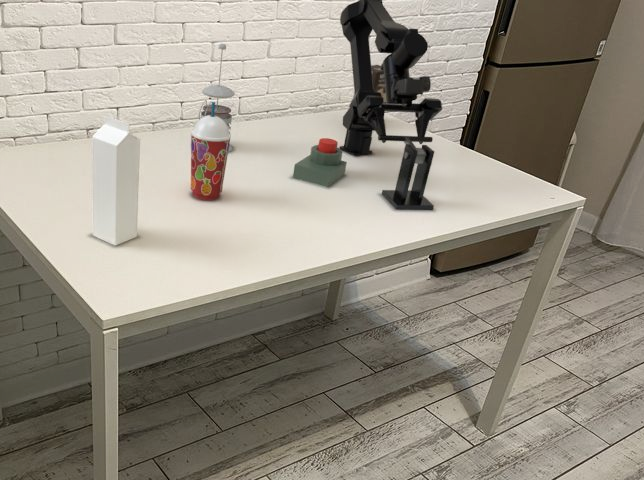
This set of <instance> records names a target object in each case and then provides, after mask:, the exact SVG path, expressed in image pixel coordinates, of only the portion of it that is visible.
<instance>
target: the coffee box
mask: <svg viewBox="0 0 644 480" xmlns="http://www.w3.org/2000/svg"><path fill="white" fill-rule="evenodd" d="M380 68H381V65H379V64H373V65H372V64H371V69H372V79H373V89H374V91H375V92H380V93H381V95H382V97H383V101H384V102H387V101H386V93H383V88H384V87H385V79H384V70H381V69H380ZM354 95H355V91H353V96H352V98H353V97H354Z"/></svg>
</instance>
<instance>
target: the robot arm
mask: <svg viewBox="0 0 644 480" xmlns="http://www.w3.org/2000/svg"><path fill="white" fill-rule="evenodd" d="M339 22H340V23H339V24H340V25H341V30H342V35H343V37H345V38H346V40H347V42H348V43H349V45H350V55H351V67H352V68H351V69H352V79H353V90H354V91H355V95H354V94H353V96H354V97H353V96H352V98H351V101H350V103H349V107H348V109H347V110H346V112H345V113H344V115H343V116H342V126H343V127H344V128H345V129H346V133H345V138H344V144H343V145H340V146H339V148H338V149H340V150H342V151H344V152H346V153H348V154H350V155H352V156H356V157H358V156H364V155H370V154H373V150H371V145H372V141H373V137H372V135H373V132H375V133H376V134H377V137H378V136H379V135H387V131H386V122H385V113H386V112H392V113H393V112H394V113H395V112H397V113H398V112H399V113H414V115H415V118H416V119H415V120H414V123H415V129H416V136H420V137H426V134H427V130H428V126H429V123H430V121H431V120H433V119H434V118H435V117H437V115H438V114H440V112H441V111H443V103H442V101H441V99H439V98H429V97H428V98H427V97H426V98H425V97H424V99H423V100H422V101H420V103H413V101H416V100H417V99H418V95H420V96H423V95H424V93H426V92H430V91H431V86H432V85H431V84H432V82H431V77H430V76H427V75H422V76H420V77H419V78H413V77H411V76H410V69H412V68H413V67H415V65H416V64H417V63H418V62H419V61H420V60H421V59H422V58H423V56H425V54H426V53H427V51H428V48H429V44H428V42H427V40H426V38H425V37H424V36H423V35H422V34H420V33H419V29H418V28H413V27H412V28H411V27H410V28H409V27H407V26H406V25H404V24H401V23H398V22H396V21H395V20H394V19H393V18H392V16H391V14H390V13H389V12H388V10H387V8H386V7H385V5H384V4H383V0H357V1H355V2H352V3H349V4H348V5H347V6H345V7H344V9H343V10H342V11H341V13H340V18H339ZM372 32H374V33H375V39H374V44H375V47H376V49H377V52H378V53H379V54H387V56H386V57H385V58H384V59H383V61H382V63H381V65H380V66H381V68H380V69H381V70H384V79H385V87H384V88H383V93H386V101H387V102H384V101H383V97H382V95H381V93H380V92H375V91H374V89H373V79H372V69H371V65H372V59H371V49H370V48H371V47H370V35H371V33H372ZM354 91H353V92H354ZM381 142H382V144H386V142H387V141H381ZM418 143H419V145H423V143H424V142H418Z"/></svg>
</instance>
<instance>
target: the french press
mask: <svg viewBox="0 0 644 480" xmlns="http://www.w3.org/2000/svg"><path fill="white" fill-rule="evenodd" d="M218 49H219V50H221V53H220V63H219V64H220V66H219V77H218V84H213V85H212V84H211V85H208V86H206V87H204V88H203V89H202V90H201V92H202V94H203V96H206V97H210V98H214V99H217V100H216V104H215V111H214V115H215V116H217V117H219V118H221V119H222V120H223V121H224V122H225V123H226V125H227V126H228V129H229V132H230V133H231V126H230V125H232V118H233V115H232V114H230V113H231V112H232V109H231V108H230V107H228V106H225V105H220V104H219V99H229V98H233V97H234V96H235V94H236V93H235V92H234V91H233V90H232V89H231V88H229V87H227V86H226V85H221V75H222V74H221V73H222V61H223V51H224V50H227V45H226V44H225V43H219V45H218ZM212 102H213V101H210V102H209V103H208V100H207V99H205V100H204V101H203V102H202V104H201V105H200V109H199V112H198V120H200V119H201V118H202V117H204V116H208V115H211V109H212ZM204 104H205V105H204ZM202 110H203V111H202ZM231 151H233V146H232V145H231V144H230V143H229V150H228V153H231Z"/></svg>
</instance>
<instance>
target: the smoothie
mask: <svg viewBox="0 0 644 480" xmlns="http://www.w3.org/2000/svg"><path fill="white" fill-rule="evenodd" d="M211 102H212V109H211V115H208V116H204V117H202V118H201V117H200V120H199V119H198V120H197V121H196V123H195V124H194V126H193V128H192V129H191V130H190V135H191V136H190V137H191V138H190V191H192V195H193V197H195V198H196V199H199V200H202V201H214V200H217V199H218V198H220V194H221V193H222V192H223V186H224V180H225V173H226V167H227V162H228V156H229V155H228V154H229V152H228V150H229V144H230V142H231V138H232V134H231V131H230V129H228V126H227V125H226V123H225V122H224V121H223V120H222V119H221V118H219V117H217V116H215V115H214V111H215V105H216V101H211ZM229 131H230V132H229Z"/></svg>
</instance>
